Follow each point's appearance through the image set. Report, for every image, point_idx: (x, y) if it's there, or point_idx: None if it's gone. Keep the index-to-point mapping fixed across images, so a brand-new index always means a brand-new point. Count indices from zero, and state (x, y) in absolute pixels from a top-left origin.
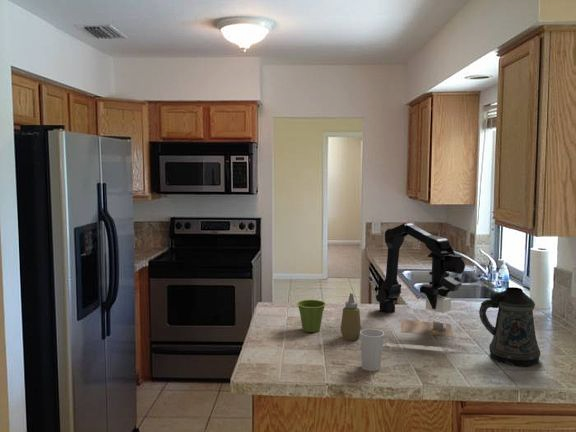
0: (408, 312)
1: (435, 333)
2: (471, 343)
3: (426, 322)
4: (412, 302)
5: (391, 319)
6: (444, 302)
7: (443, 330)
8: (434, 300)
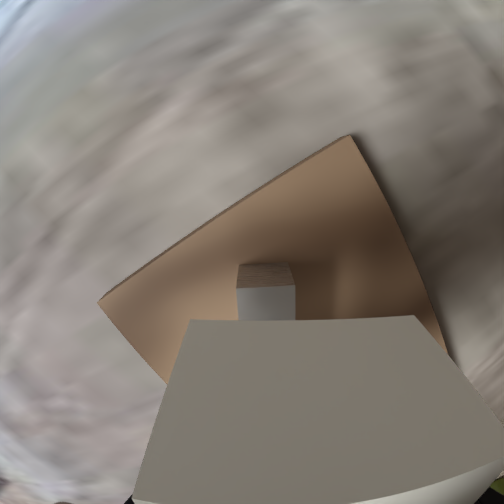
0: (123, 491)
1: (380, 268)
2: (300, 26)
3: None
4: (40, 490)
5: None
6: (460, 426)
7: (278, 263)
8: (493, 497)
